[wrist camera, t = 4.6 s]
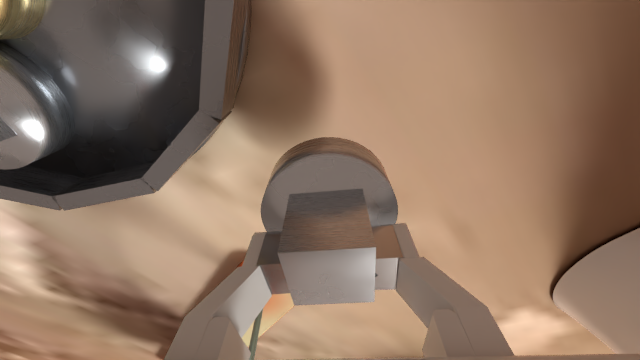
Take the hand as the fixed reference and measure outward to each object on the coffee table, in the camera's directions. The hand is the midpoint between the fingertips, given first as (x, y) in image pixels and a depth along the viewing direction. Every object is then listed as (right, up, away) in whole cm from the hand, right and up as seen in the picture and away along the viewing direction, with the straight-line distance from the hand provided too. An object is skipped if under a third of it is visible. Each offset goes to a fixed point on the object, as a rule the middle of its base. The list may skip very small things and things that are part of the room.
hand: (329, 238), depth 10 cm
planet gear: (0, +2, +2) cm, 3 cm away
